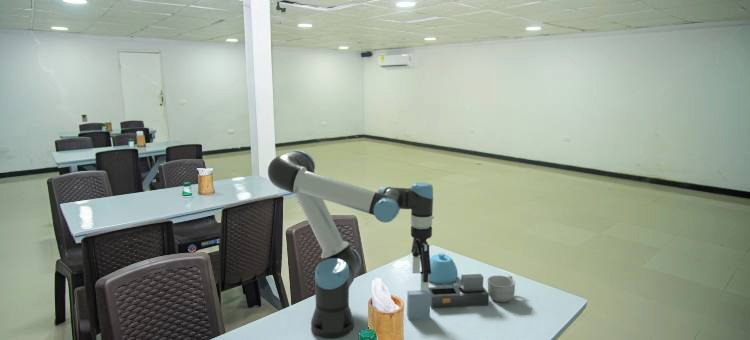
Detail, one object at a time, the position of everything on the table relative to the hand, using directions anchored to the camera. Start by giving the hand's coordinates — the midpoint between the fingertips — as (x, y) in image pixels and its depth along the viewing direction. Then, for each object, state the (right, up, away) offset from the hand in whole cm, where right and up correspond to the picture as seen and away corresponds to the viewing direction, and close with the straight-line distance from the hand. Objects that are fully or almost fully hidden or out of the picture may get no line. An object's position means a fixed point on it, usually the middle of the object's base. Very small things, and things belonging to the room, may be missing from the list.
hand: (420, 281), depth 151 cm
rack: (+16, -12, +14) cm, 25 cm away
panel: (0, -14, +3) cm, 15 cm away
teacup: (+36, -12, +18) cm, 42 cm away
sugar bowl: (+13, -8, +35) cm, 38 cm away
